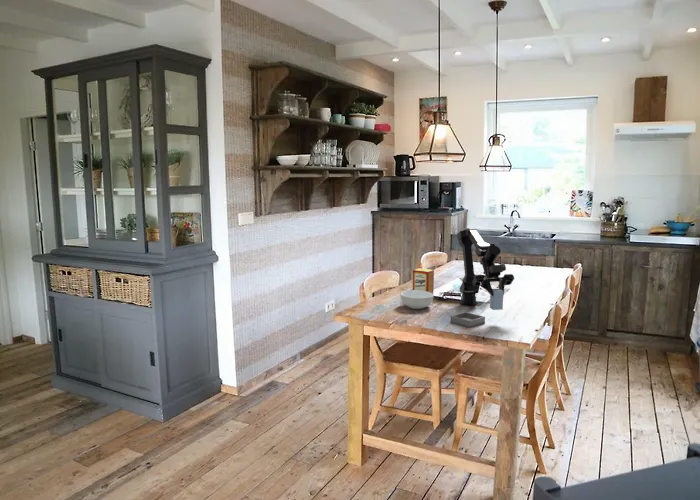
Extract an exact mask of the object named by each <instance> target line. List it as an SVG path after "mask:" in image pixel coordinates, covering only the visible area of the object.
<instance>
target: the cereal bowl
mask: <svg viewBox="0 0 700 500" xmlns="http://www.w3.org/2000/svg"><path fill="white" fill-rule="evenodd" d="M400 300H401V303H402V304H403V305H405V306H407V307H409V309H413V310H421V309H424V308H426V307H429V306H431V304H432V303H433V302H434V301H433V300H434V293H433V294H432V293H430V292H427V291H421V290H413V289H412V290H410V289H409V290H403V291H402V292H401V293H400Z"/></svg>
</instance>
